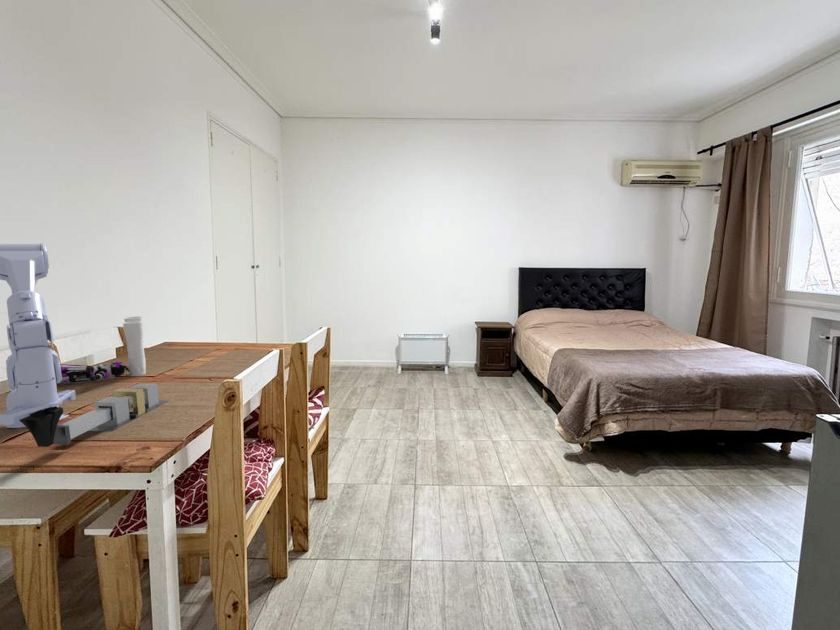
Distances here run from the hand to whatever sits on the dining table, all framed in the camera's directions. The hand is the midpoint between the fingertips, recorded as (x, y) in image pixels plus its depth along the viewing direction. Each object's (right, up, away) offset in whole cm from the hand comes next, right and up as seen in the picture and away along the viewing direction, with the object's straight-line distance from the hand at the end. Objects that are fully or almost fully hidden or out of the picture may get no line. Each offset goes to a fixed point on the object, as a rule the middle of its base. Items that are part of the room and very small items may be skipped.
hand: (45, 445), depth 91 cm
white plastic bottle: (-23, +7, +67) cm, 71 cm away
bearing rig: (+2, 0, +23) cm, 23 cm away
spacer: (+2, +1, +23) cm, 23 cm away
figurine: (-33, +4, +54) cm, 63 cm away
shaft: (+1, +1, +12) cm, 12 cm away
